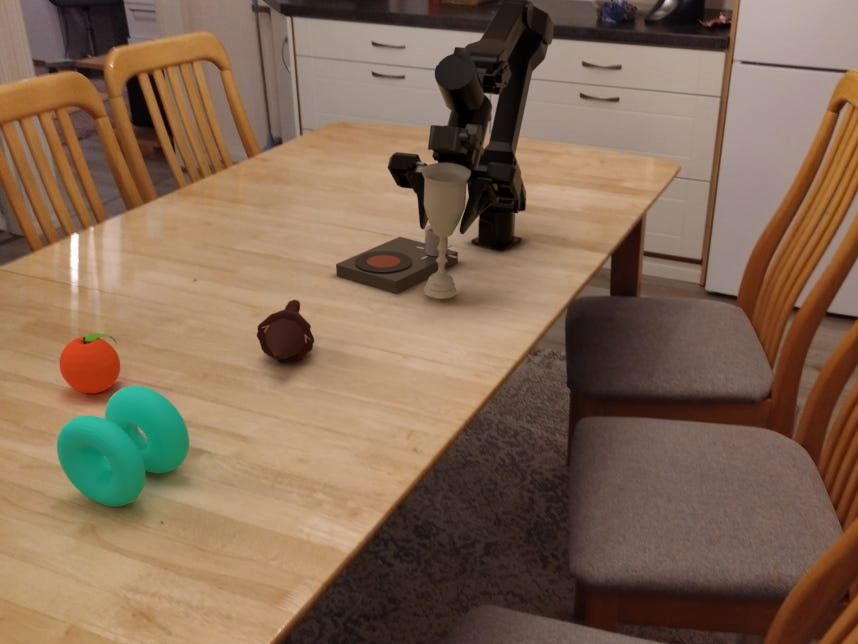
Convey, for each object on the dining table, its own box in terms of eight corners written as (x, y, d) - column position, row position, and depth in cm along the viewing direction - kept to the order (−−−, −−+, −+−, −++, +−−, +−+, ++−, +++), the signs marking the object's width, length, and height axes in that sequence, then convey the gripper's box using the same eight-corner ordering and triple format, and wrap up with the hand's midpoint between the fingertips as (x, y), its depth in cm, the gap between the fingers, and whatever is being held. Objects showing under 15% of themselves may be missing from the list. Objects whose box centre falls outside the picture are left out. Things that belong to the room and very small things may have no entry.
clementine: (104, 369, 128) (93, 318, 124) (143, 382, 125) (133, 330, 122) (53, 394, 123) (40, 341, 119) (93, 408, 120) (81, 354, 116)
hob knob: (434, 246, 163) (434, 221, 160) (452, 251, 161) (452, 225, 159) (420, 253, 160) (420, 227, 158) (438, 258, 158) (438, 231, 156)
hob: (405, 245, 169) (404, 233, 168) (470, 263, 163) (470, 250, 161) (336, 276, 157) (335, 262, 156) (403, 296, 150) (403, 282, 149)
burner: (379, 248, 162) (379, 247, 162) (423, 260, 158) (423, 259, 157) (342, 264, 156) (342, 263, 155) (387, 277, 151) (387, 276, 151)
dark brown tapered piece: (312, 338, 122) (325, 300, 136) (252, 323, 121) (270, 287, 134) (302, 389, 126) (315, 347, 139) (243, 375, 124) (261, 334, 138)
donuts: (61, 498, 104) (40, 414, 98) (127, 453, 111) (110, 372, 106) (139, 522, 100) (121, 436, 95) (200, 474, 108) (187, 392, 103)
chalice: (455, 305, 145) (463, 185, 134) (411, 297, 147) (414, 177, 136) (468, 284, 151) (476, 167, 140) (425, 276, 152) (430, 159, 141)
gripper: (390, 93, 139) (362, 195, 136) (519, 105, 135) (493, 210, 132) (411, 137, 150) (386, 232, 147) (531, 149, 145) (508, 248, 143)
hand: (441, 230), depth 142 cm, fingers closed on chalice, 5 cm apart
